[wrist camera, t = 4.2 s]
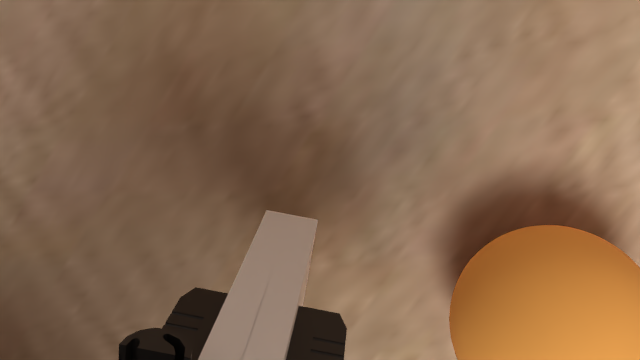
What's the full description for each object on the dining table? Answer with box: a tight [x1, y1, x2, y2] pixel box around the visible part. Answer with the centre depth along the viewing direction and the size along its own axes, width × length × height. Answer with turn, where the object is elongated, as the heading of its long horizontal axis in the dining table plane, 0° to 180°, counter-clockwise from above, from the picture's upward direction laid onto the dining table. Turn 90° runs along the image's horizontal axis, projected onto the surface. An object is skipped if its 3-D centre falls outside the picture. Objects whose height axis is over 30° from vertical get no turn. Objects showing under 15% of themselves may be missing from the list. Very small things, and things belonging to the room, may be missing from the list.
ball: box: [449, 225, 640, 360], centre depth 16 cm, size 6×6×6 cm
